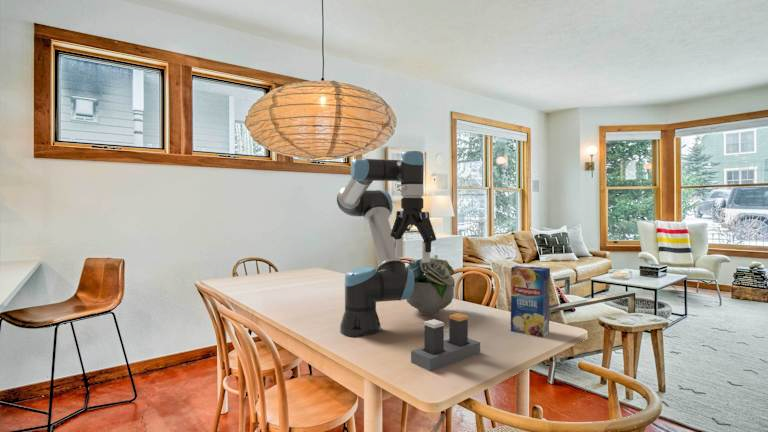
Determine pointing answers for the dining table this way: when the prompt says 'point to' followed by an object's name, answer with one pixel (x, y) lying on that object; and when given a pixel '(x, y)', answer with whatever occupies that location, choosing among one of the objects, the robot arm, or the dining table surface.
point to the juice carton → (530, 300)
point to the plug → (458, 329)
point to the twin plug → (434, 337)
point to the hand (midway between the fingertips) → (412, 259)
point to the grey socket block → (444, 355)
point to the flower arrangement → (431, 286)
